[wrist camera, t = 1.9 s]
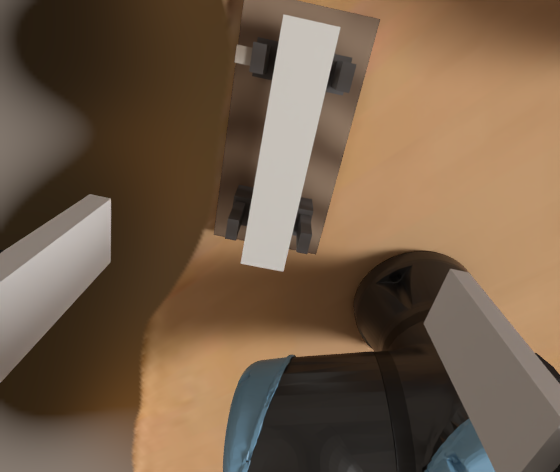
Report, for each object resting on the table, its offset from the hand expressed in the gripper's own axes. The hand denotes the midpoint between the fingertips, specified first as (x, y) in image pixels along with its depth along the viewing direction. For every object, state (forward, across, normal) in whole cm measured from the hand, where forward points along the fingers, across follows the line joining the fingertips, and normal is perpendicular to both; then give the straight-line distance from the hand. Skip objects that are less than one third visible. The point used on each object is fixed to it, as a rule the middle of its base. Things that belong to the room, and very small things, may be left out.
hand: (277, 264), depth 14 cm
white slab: (+22, 0, 0) cm, 22 cm away
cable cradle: (+27, 0, 0) cm, 27 cm away
